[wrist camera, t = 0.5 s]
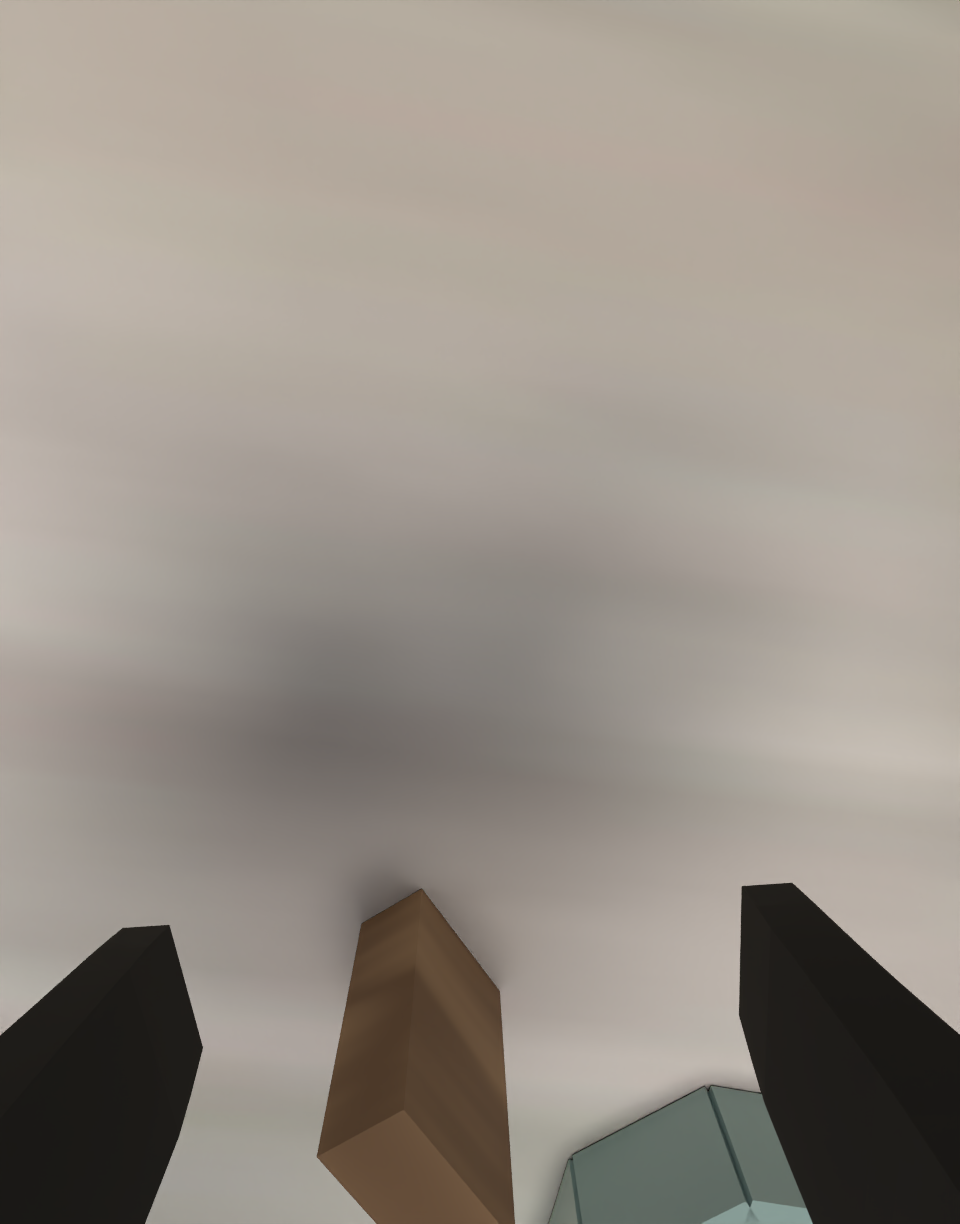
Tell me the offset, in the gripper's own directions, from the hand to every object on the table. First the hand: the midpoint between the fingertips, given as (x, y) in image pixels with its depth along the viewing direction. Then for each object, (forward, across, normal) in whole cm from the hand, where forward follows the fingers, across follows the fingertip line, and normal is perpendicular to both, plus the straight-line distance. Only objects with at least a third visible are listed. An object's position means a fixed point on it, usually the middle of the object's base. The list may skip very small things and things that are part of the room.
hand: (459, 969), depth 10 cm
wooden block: (+10, +2, +9) cm, 13 cm away
